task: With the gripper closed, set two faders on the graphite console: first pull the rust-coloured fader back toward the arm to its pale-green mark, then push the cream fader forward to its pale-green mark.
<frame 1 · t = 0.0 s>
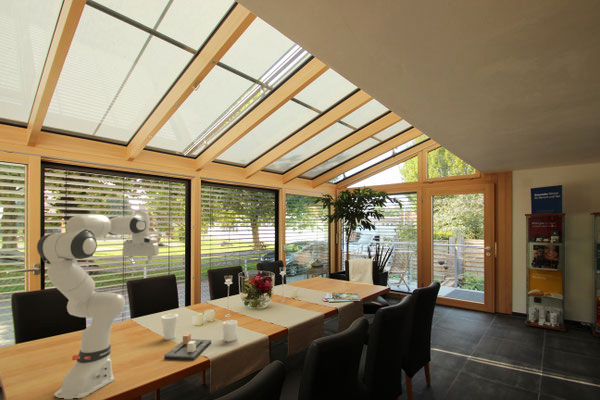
hand: (140, 264, 172), 48 cm above the table, fingers open, 8 cm apart
console: (189, 350, 169), on the table
foam cup: (169, 337, 189), on the table
cup: (229, 338, 186), on the table
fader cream: (191, 347, 163), point 4 cm above the table, slide at -5.0 cm
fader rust: (186, 339, 174), point 4 cm above the table, slide at 5.0 cm
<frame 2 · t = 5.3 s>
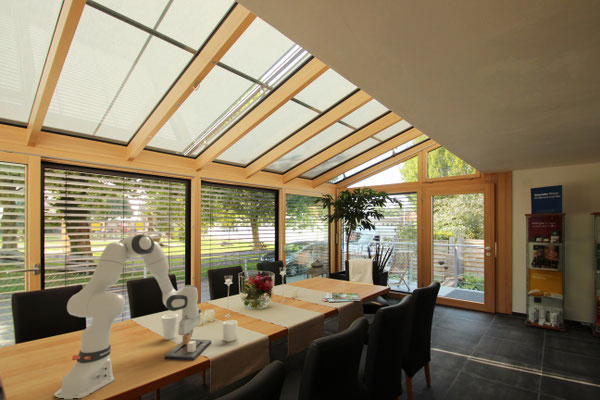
hand: (189, 337, 178), 4 cm above the table, fingers closed
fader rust: (186, 339, 174), point 4 cm above the table, slide at 4.7 cm, touching gripper
everything else where it was.
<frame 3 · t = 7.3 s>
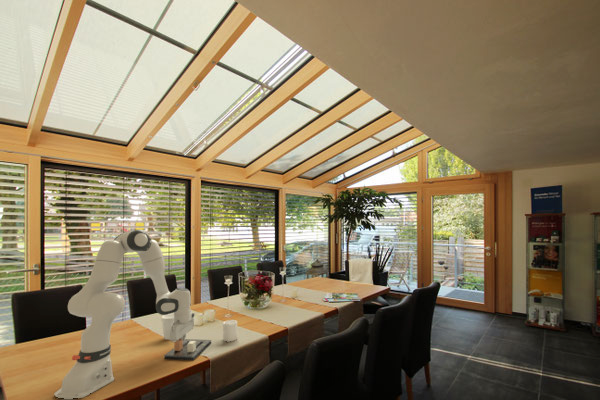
hand: (182, 343, 169), 4 cm above the table, fingers closed
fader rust: (178, 345, 165), point 4 cm above the table, slide at -3.9 cm, touching gripper
everything else where it was.
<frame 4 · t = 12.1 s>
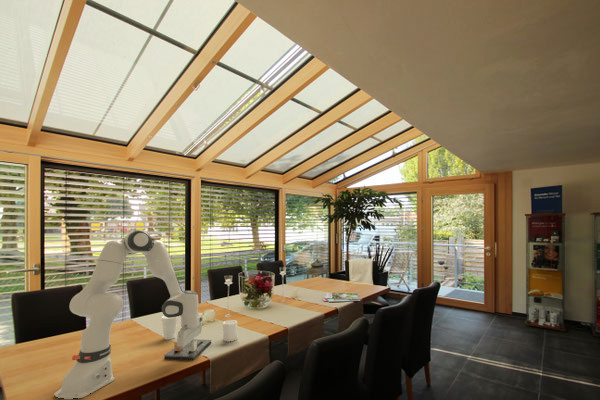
hand: (189, 348, 161), 4 cm above the table, fingers closed
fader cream: (192, 346, 165), point 4 cm above the table, slide at -3.8 cm, touching gripper
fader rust: (178, 345, 165), point 4 cm above the table, slide at -3.9 cm
everything else where it was.
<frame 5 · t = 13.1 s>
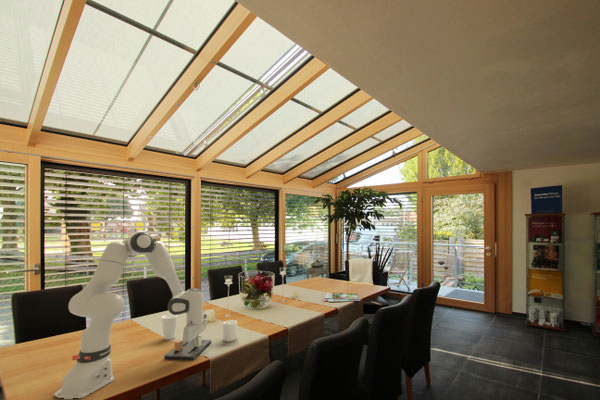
hand: (194, 344, 167), 4 cm above the table, fingers closed
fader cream: (197, 342, 170), point 4 cm above the table, slide at 2.0 cm, touching gripper
everything else where it was.
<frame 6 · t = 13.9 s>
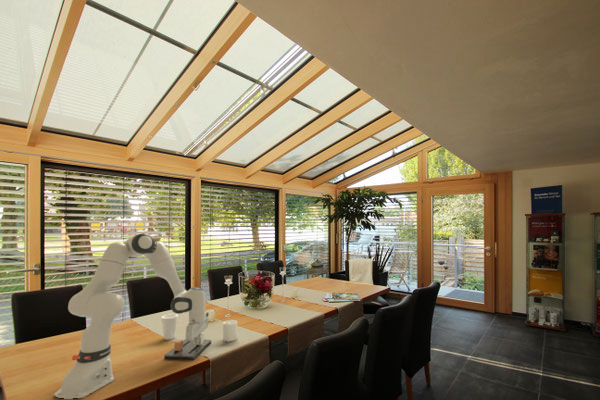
hand: (197, 342, 169), 4 cm above the table, fingers closed
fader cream: (199, 340, 173), point 4 cm above the table, slide at 4.8 cm, touching gripper
everything else where it was.
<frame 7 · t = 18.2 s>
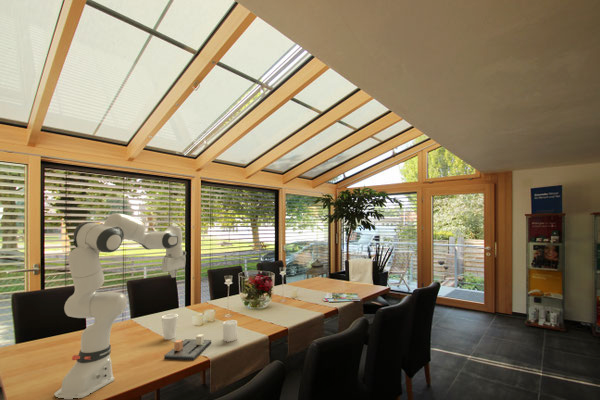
hand: (173, 277, 179), 39 cm above the table, fingers closed
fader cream: (200, 340, 173), point 4 cm above the table, slide at 4.9 cm
everything else where it was.
at the end: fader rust slide at -3.9 cm; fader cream slide at 4.9 cm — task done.
